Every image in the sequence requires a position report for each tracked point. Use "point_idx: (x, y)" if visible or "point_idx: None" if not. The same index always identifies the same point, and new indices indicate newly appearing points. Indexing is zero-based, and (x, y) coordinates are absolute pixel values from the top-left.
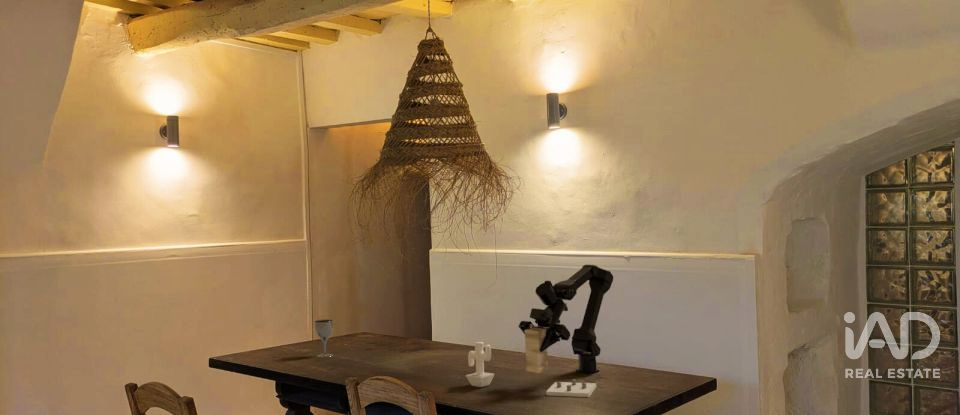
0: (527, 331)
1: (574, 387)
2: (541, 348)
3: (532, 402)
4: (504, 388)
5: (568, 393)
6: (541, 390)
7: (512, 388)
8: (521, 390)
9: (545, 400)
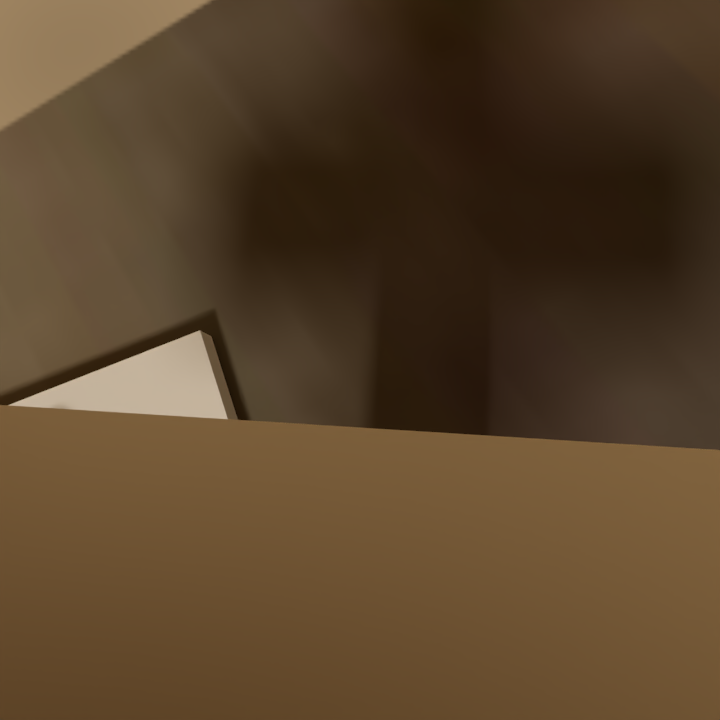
0: (652, 447)
1: None
2: None
3: (195, 120)
4: (667, 353)
5: (34, 397)
6: None
7: (602, 390)
8: (484, 370)
9: (143, 211)
